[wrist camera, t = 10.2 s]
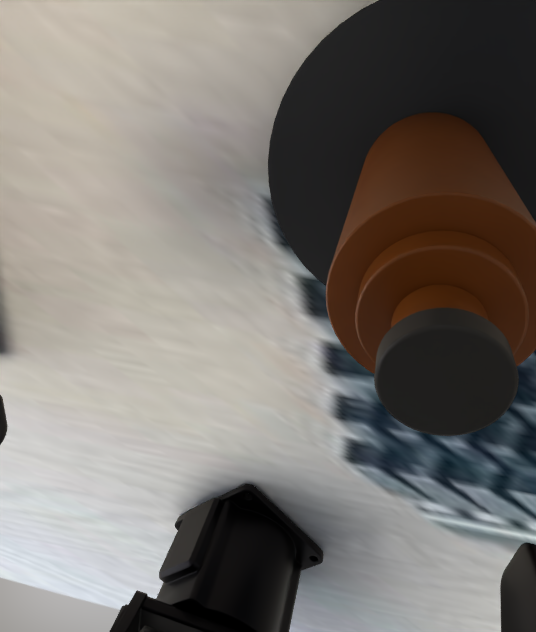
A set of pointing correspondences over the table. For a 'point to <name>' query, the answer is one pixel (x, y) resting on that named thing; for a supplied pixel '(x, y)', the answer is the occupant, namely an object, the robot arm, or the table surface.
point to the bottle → (436, 276)
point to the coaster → (399, 104)
